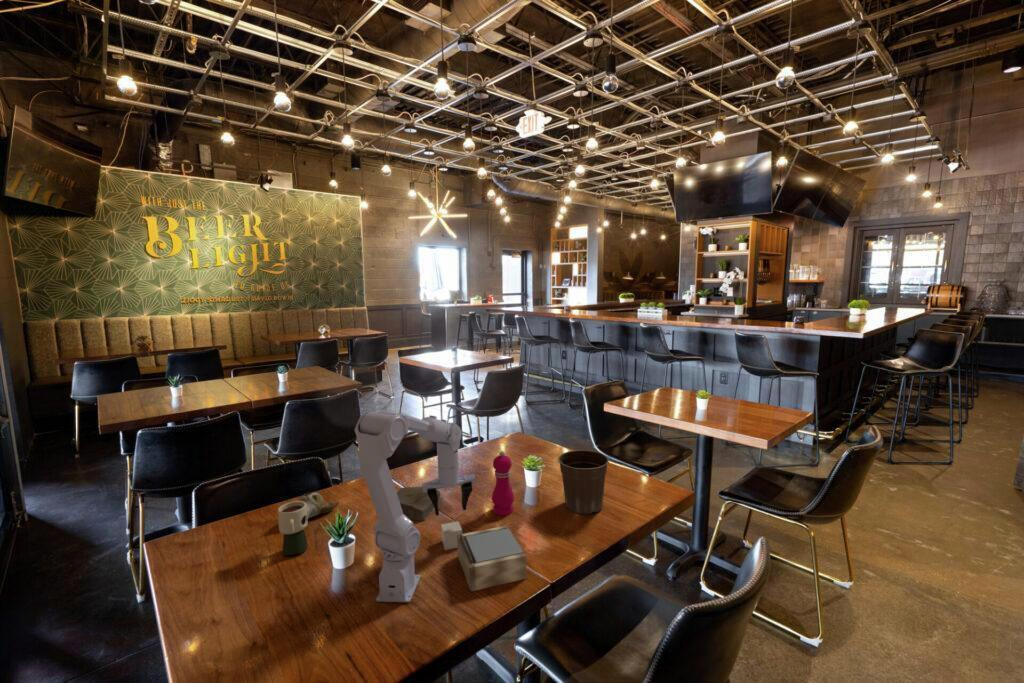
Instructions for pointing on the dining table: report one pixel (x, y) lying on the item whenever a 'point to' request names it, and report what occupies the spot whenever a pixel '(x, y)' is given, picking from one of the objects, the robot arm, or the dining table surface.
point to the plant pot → (583, 480)
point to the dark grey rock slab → (415, 502)
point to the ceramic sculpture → (316, 504)
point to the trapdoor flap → (493, 545)
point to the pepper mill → (502, 486)
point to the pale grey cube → (450, 534)
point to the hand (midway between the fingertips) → (450, 511)
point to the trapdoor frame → (489, 565)
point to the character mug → (293, 527)
